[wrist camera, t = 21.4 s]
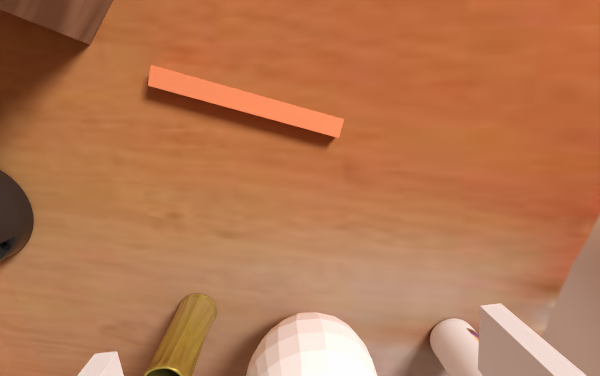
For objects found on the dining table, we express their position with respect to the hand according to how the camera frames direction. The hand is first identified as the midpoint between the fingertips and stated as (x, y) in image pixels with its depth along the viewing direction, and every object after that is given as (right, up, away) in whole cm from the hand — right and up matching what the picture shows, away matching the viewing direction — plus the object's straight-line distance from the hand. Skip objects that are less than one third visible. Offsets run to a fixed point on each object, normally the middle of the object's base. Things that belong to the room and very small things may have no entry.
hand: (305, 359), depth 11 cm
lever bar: (-7, +18, +31) cm, 37 cm away
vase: (-17, -14, +38) cm, 44 cm away
